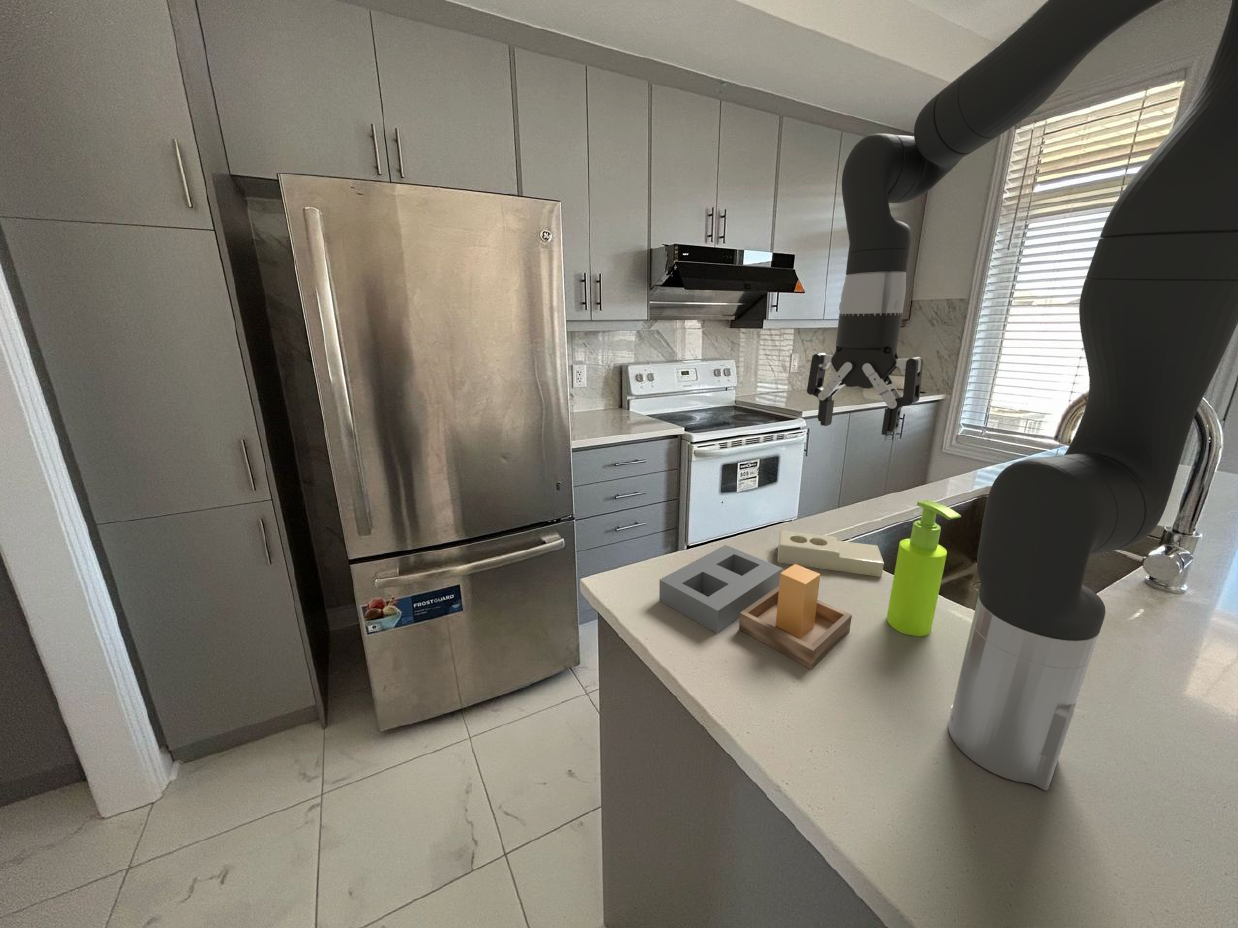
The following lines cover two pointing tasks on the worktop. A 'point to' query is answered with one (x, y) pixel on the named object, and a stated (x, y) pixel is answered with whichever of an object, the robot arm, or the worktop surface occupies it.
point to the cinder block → (719, 586)
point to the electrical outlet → (829, 553)
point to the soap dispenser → (919, 573)
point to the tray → (803, 650)
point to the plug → (797, 600)
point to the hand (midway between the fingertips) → (854, 429)
